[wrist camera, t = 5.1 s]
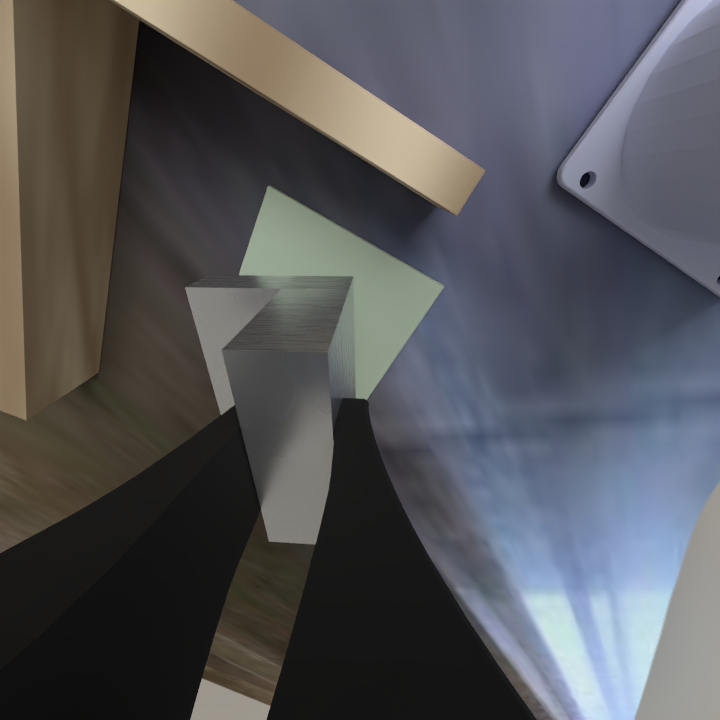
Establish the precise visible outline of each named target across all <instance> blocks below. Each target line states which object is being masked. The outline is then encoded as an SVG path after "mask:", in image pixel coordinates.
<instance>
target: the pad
mask: <svg viewBox="0 0 720 720" xmlns="http://www.w3.org/2000/svg"><path fill="white" fill-rule="evenodd" d="M239 275H261V276H354V330H355V385H356V398H359V399H365V400H367V399H368V397H369V396H370V395H371V393H372V392H373V390H374V389H375V387H376V386H377V384H378V383H379V381H380V380H381V378H382V377H383V376H384V374H385V373H386V371H387V370H388V368H389V367H390V365H391V364H392V362H393V361H394V360H395V358H396V357H397V355H398V354H399V352H400V351H401V349H402V348H403V346H404V345H405V344H406V342H407V341H408V339H409V338H410V336H411V335H412V333H413V332H414V330H415V329H416V327H417V326H418V325H419V323H420V322H421V320H422V319H423V317H424V316H425V314H426V313H427V311H428V310H429V309H430V307H431V306H432V304H433V303H434V301H435V300H436V298H437V297H438V295H439V294H440V293H441V291H442V290H443V288H444V285H443V284H441V283H439V282H437V281H436V280H434V279H432V278H430V277H429V276H427V275H425V274H423V273H422V272H420V271H418V270H416V269H415V268H413V267H411V266H410V265H408V264H406V263H404V262H403V261H401V260H399V259H397V258H396V257H394V256H392V255H390V254H389V253H387V252H385V251H383V250H382V249H380V248H378V247H377V246H375V245H373V244H371V243H370V242H368V241H366V240H364V239H363V238H361V237H359V236H357V235H356V234H354V233H352V232H350V231H349V230H347V229H345V228H344V227H342V226H340V225H338V224H337V223H335V222H333V221H331V220H330V219H328V218H326V217H324V216H323V215H321V214H319V213H317V212H316V211H314V210H312V209H310V208H309V207H307V206H305V205H304V204H302V203H300V202H298V201H297V200H295V199H293V198H291V197H290V196H288V195H286V194H284V193H283V192H281V191H279V190H277V189H276V188H274V187H272V186H268V187H267V190H266V194H265V197H264V200H263V203H262V206H261V209H260V212H259V215H258V218H257V221H256V224H255V227H254V230H253V233H252V236H251V239H250V242H249V245H248V248H247V251H246V254H245V257H244V260H243V263H242V266H241V269H240V272H239Z"/></svg>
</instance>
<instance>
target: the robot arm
mask: <svg viewBox="0 0 720 720" xmlns="http://www.w3.org/2000/svg"><path fill="white" fill-rule="evenodd" d="M586 172H588V173H589V175H590V180H589V182H588V184H587V185H586V186H585V187H584V188H582V187H581V186H580V179H581V177H582V176H583V175H584V174H585V173H586ZM557 182H558V184H559V185H560V186H561V187H562V188H563V189H565V190H566V191H568V192H569V193H571V194H572V195H574V196H575V197H576V198H578V199H579V200H581V201H582V202H584V203H585V204H586V205H588V206H589V207H591V208H592V209H594V210H595V211H597V212H598V213H599V214H601V215H602V216H604V217H605V218H607V219H608V220H609V221H611V222H612V223H614V224H615V225H617V226H618V227H620V228H621V229H622V230H624V231H625V232H627V233H628V234H630V235H631V236H632V237H634V238H635V239H637V240H638V241H640V242H641V243H643V244H644V245H645V246H647V247H648V248H650V249H651V250H653V251H654V252H655V253H657V254H658V255H660V256H661V257H663V258H664V259H666V260H667V261H668V262H670V263H671V264H673V265H674V266H676V267H677V268H678V269H680V270H681V271H683V272H684V273H686V274H687V275H689V276H690V277H691V278H693V279H694V280H696V281H697V282H699V283H700V284H701V285H703V286H704V287H706V288H707V289H709V290H710V291H711V292H713V293H714V294H716V295H717V296H719V297H720V279H719V280H718V281H717V279H718V277H719V276H720V0H681V1H680V3H679V4H678V6H677V7H676V8H675V10H674V11H673V12H672V14H671V15H670V16H669V18H668V19H667V21H666V22H665V23H664V25H663V26H662V27H661V29H660V30H659V31H658V33H657V34H656V36H655V37H654V38H653V40H652V41H651V42H650V44H649V45H648V47H647V48H646V49H645V51H644V52H643V53H642V55H641V56H640V57H639V59H638V60H637V62H636V63H635V64H634V66H633V67H632V68H631V70H630V71H629V72H628V74H627V75H626V77H625V78H624V79H623V81H622V82H621V83H620V85H619V86H618V87H617V89H616V90H615V92H614V93H613V94H612V96H611V97H610V98H609V100H608V101H607V102H606V104H605V105H604V107H603V108H602V109H601V111H600V112H599V113H598V115H597V116H596V118H595V119H594V120H593V122H592V123H591V124H590V126H589V127H588V128H587V130H586V131H585V133H584V134H583V135H582V137H581V138H580V139H579V141H578V142H577V143H576V145H575V146H574V148H573V149H572V150H571V152H570V153H569V154H568V156H567V157H566V158H565V160H564V161H563V163H562V164H561V166H560V167H559V169H558V172H557ZM368 405H369V402H368V401H366V400H365V399H359V398H343V399H342V402H341V405H340V408H339V411H338V414H337V418H336V426H335V436H334V447H333V457H332V467H331V477H330V483H329V490H328V495H327V499H326V503H325V508H324V512H323V516H322V520H321V524H320V529H319V533H318V537H317V541H316V545H315V549H314V553H313V556H312V560H311V564H310V568H309V572H308V576H307V580H306V584H305V587H304V591H303V595H302V598H301V602H300V605H299V609H298V613H297V616H296V620H295V624H294V627H293V631H292V634H291V638H290V642H289V645H288V649H287V652H286V656H285V660H284V663H283V666H282V670H281V673H280V676H279V680H278V683H277V687H276V690H275V693H274V697H273V700H272V703H271V707H270V710H269V714H268V717H267V720H537V719H536V718H535V717H534V715H533V714H532V713H531V711H530V710H529V708H528V707H527V705H526V704H525V703H524V701H523V700H522V698H521V697H520V695H519V694H518V693H517V691H516V690H515V688H514V687H513V685H512V684H511V683H510V681H509V680H508V678H507V677H506V675H505V674H504V673H503V671H502V670H501V668H500V667H499V665H498V664H497V662H496V661H495V659H494V658H493V656H492V655H491V653H490V652H489V650H488V649H487V647H486V646H485V644H484V643H483V641H482V640H481V638H480V637H479V635H478V634H477V632H476V631H475V630H474V628H473V627H472V625H471V624H470V622H469V621H468V619H467V617H466V616H465V614H464V613H463V611H462V609H461V608H460V606H459V604H458V603H457V601H456V600H455V598H454V596H453V595H452V593H451V591H450V590H449V588H448V587H447V585H446V583H445V582H444V580H443V579H442V577H441V575H440V574H439V572H438V570H437V569H436V567H435V566H434V564H433V562H432V561H431V559H430V557H429V555H428V554H427V552H426V550H425V548H424V546H423V545H422V543H421V541H420V539H419V537H418V536H417V534H416V532H415V530H414V528H413V526H412V524H411V522H410V520H409V518H408V517H407V515H406V513H405V511H404V509H403V507H402V504H401V502H400V500H399V498H398V496H397V494H396V492H395V489H394V487H393V485H392V483H391V480H390V478H389V476H388V473H387V471H386V468H385V466H384V463H383V461H382V458H381V455H380V452H379V449H378V446H377V444H376V441H375V437H374V434H373V430H372V426H371V422H370V417H369V409H368ZM260 510H261V507H260V503H259V499H258V495H257V491H256V487H255V483H254V479H253V475H252V471H251V467H250V463H249V459H248V455H247V451H246V447H245V443H244V439H243V435H242V431H241V427H240V423H239V419H238V415H237V411H236V407H235V405H234V406H232V407H231V408H230V409H229V410H227V411H226V412H225V413H223V414H222V415H221V416H219V417H218V418H217V419H215V420H214V421H213V422H211V423H210V424H209V425H207V426H206V427H205V428H203V429H202V430H201V431H199V432H198V433H197V434H195V435H194V436H193V437H191V438H190V439H189V440H187V441H186V442H185V443H183V444H182V445H180V446H179V447H178V448H176V449H175V450H173V451H172V452H170V453H169V454H167V455H166V456H164V457H163V458H162V459H160V460H159V461H157V462H156V463H154V464H153V465H151V466H150V467H149V468H147V469H146V470H144V471H143V472H141V473H140V474H138V475H137V476H135V477H134V478H132V479H131V480H129V481H127V482H126V483H124V484H123V485H121V486H119V487H118V488H116V489H115V490H113V491H111V492H110V493H108V494H106V495H105V496H103V497H101V498H100V499H98V500H96V501H95V502H93V503H91V504H90V505H88V506H86V507H85V508H83V509H81V510H79V511H78V512H76V513H74V514H72V515H71V516H69V517H67V518H65V519H63V520H61V521H60V522H58V523H56V524H54V525H52V526H50V527H48V528H47V529H45V530H43V531H41V532H39V533H37V534H35V535H34V536H32V537H30V538H28V539H26V540H24V541H22V542H21V543H19V544H17V545H15V546H13V547H11V548H9V549H8V550H6V551H4V552H2V553H0V720H190V718H191V714H192V711H193V707H194V703H195V700H196V696H197V693H198V689H199V686H200V682H201V679H202V676H203V672H204V669H205V665H206V662H207V659H208V655H209V652H210V648H211V645H212V642H213V638H214V635H215V632H216V628H217V625H218V622H219V619H220V616H221V612H222V609H223V606H224V603H225V600H226V597H227V593H228V590H229V587H230V584H231V582H232V579H233V576H234V574H235V571H236V568H237V566H238V563H239V561H240V558H241V556H242V554H243V551H244V549H245V546H246V544H247V541H248V539H249V537H250V534H251V532H252V529H253V527H254V524H255V522H256V520H257V517H258V515H259V512H260Z"/></svg>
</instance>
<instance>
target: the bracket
mask: <svg viewBox="0 0 720 720" xmlns="http://www.w3.org/2000/svg"><path fill="white" fill-rule="evenodd" d="M185 289H186V293H187V296H188V300H189V303H190V307H191V311H192V314H193V318H194V321H195V325H196V328H197V332H198V335H199V339H200V343H201V346H202V350H203V353H204V357H205V360H206V364H207V367H208V371H209V374H210V378H211V382H212V385H213V389H214V392H215V396H216V399H217V403H218V406H219V410H220V414H221V415H222V414H223V413H225V412H226V411H227V410H229V409H230V408H231V407H232V406H234V405H235V407H236V411H237V415H238V419H239V423H240V427H241V431H242V435H243V439H244V443H245V447H246V451H247V455H248V459H249V463H250V467H251V471H252V475H253V479H254V483H255V487H256V491H257V495H258V499H259V503H260V507H261V511H262V515H263V519H264V523H265V527H266V531H267V535H268V539H269V542H285V543H301V544H316V541H317V537H318V533H319V529H320V524H321V520H322V516H323V512H324V508H325V503H326V499H327V495H328V490H329V483H330V477H331V467H332V457H333V447H334V436H335V426H336V418H337V414H338V411H339V408H340V405H341V402H342V399H343V398H356V385H355V330H354V276H261V275H208V276H206V277H204V278H202V279H200V280H198V281H196V282H194V283H192V284H191V285H189V286H187V287H185Z"/></svg>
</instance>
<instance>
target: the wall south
mask: <svg viewBox="0 0 720 720" xmlns="http://www.w3.org/2000/svg"><path fill="white" fill-rule="evenodd" d="M110 1H111V2H113V3H114V4H116V5H117V6H119V7H120V8H122V9H123V10H125V11H126V12H128V13H129V14H131V15H132V16H134V17H135V18H137V19H138V20H140V21H141V22H143V23H145V24H146V25H148V26H149V27H151V28H153V29H154V30H156V31H157V32H159V33H161V34H162V35H164V36H165V37H167V38H169V39H170V40H172V41H173V42H175V43H177V44H178V45H180V46H181V47H183V48H185V49H186V50H188V51H189V52H191V53H193V54H194V55H196V56H197V57H199V58H201V59H202V60H204V61H205V62H207V63H209V64H210V65H212V66H213V67H215V68H217V69H218V70H220V71H221V72H223V73H225V74H226V75H228V76H229V77H231V78H233V79H234V80H236V81H237V82H239V83H241V84H242V85H244V86H245V87H247V88H249V89H250V90H252V91H253V92H255V93H257V94H258V95H260V96H261V97H263V98H265V99H266V100H268V101H269V102H271V103H273V104H274V105H276V106H277V107H279V108H280V109H282V110H284V111H285V112H287V113H288V114H290V115H292V116H293V117H295V118H296V119H298V120H300V121H301V122H303V123H304V124H306V125H308V126H309V127H311V128H312V129H314V130H316V131H317V132H319V133H320V134H322V135H324V136H325V137H327V138H328V139H330V140H332V141H333V142H335V143H336V144H338V145H340V146H341V147H343V148H344V149H346V150H348V151H349V152H351V153H352V154H354V155H356V156H357V157H359V158H360V159H362V160H364V161H365V162H367V163H368V164H370V165H372V166H373V167H375V168H376V169H378V170H380V171H381V172H383V173H384V174H386V175H388V176H389V177H391V178H392V179H394V180H396V181H397V182H399V183H400V184H402V185H404V186H405V187H407V188H408V189H410V190H412V191H413V192H415V193H416V194H418V195H420V196H421V197H423V198H424V199H426V200H428V201H429V202H431V203H432V204H434V205H436V206H437V207H440V208H442V209H444V210H446V211H448V212H451V213H453V214H455V215H458V213H459V212H460V210H461V209H462V207H463V205H464V204H465V202H466V201H467V199H468V198H469V196H470V194H471V193H472V191H473V190H474V188H475V186H476V185H477V183H478V182H479V180H480V179H481V177H482V175H483V174H484V172H485V171H486V170H484V169H483V168H481V167H480V166H478V165H477V164H475V163H474V162H472V161H471V160H469V159H468V158H466V157H465V156H463V155H462V154H460V153H459V152H457V151H456V150H454V149H453V148H451V147H450V146H448V145H447V144H446V143H444V142H443V141H441V140H440V139H438V138H437V137H435V136H434V135H432V134H431V133H429V132H428V131H426V130H425V129H423V128H422V127H420V126H419V125H417V124H416V123H414V122H413V121H411V120H410V119H408V118H407V117H405V116H404V115H402V114H401V113H399V112H398V111H396V110H395V109H393V108H392V107H390V106H389V105H387V104H386V103H384V102H383V101H381V100H380V99H378V98H377V97H375V96H374V95H372V94H371V93H370V92H368V91H367V90H365V89H364V88H362V87H361V86H359V85H358V84H356V83H355V82H353V81H352V80H350V79H349V78H347V77H346V76H344V75H343V74H341V73H340V72H338V71H337V70H335V69H334V68H332V67H331V66H329V65H328V64H326V63H325V62H323V61H322V60H320V59H319V58H317V57H316V56H314V55H313V54H311V53H310V52H308V51H307V50H305V49H304V48H302V47H301V46H299V45H298V44H296V43H295V42H294V41H292V40H291V39H289V38H288V37H286V36H285V35H283V34H282V33H280V32H279V31H277V30H276V29H274V28H273V27H271V26H270V25H268V24H267V23H265V22H264V21H262V20H261V19H259V18H258V17H256V16H255V15H253V14H252V13H250V12H249V11H247V10H246V9H244V8H243V7H241V6H240V5H238V4H237V3H235V2H234V1H232V0H110Z"/></svg>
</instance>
